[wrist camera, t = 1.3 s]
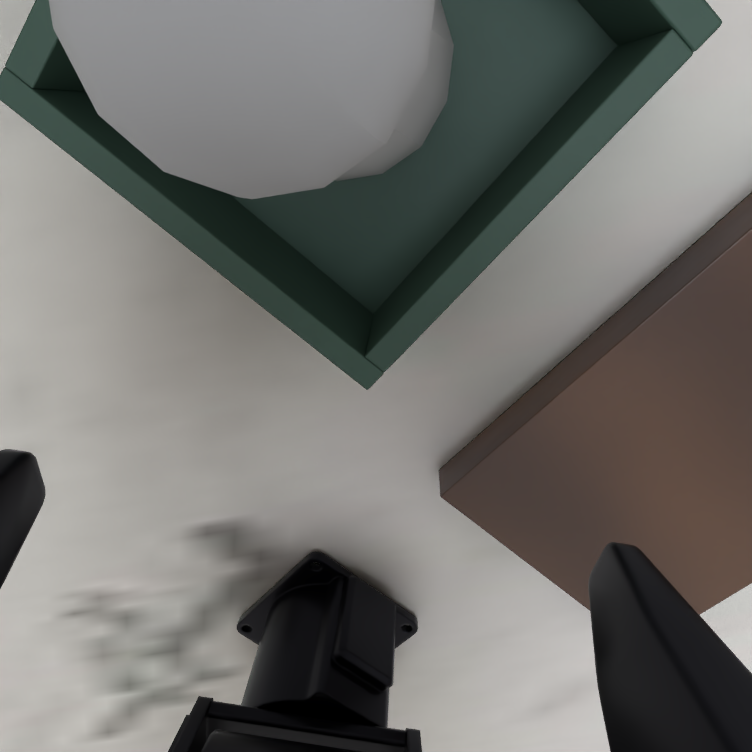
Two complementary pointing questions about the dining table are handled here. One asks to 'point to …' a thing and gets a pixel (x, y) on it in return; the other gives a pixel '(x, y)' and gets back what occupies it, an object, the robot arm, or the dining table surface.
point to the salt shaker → (263, 84)
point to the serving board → (635, 436)
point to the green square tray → (397, 167)
